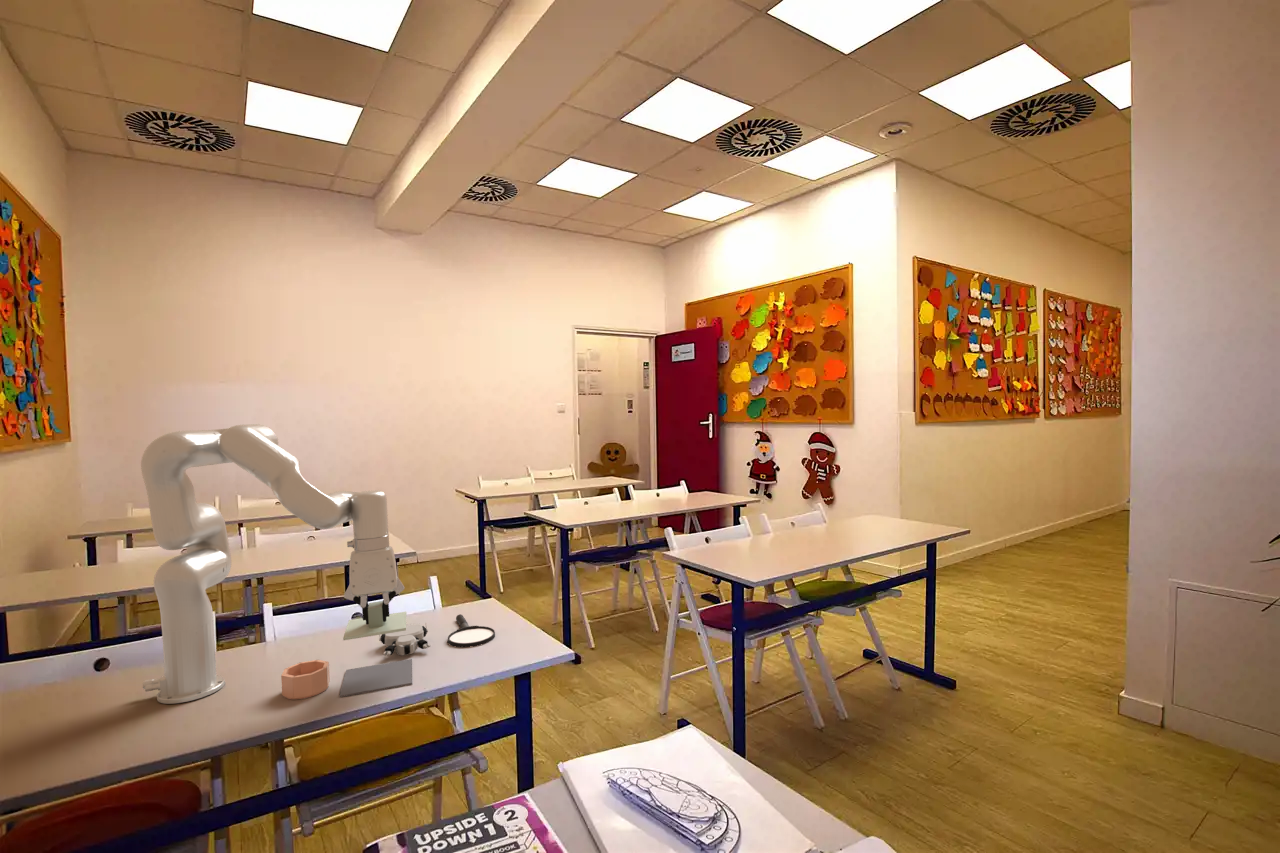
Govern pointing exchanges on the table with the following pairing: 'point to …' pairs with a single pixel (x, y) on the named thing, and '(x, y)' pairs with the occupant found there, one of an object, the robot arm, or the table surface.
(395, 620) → the cover
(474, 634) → the magnifying glass
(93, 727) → the table surface
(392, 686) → the mat
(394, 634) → the robot toy
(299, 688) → the bowl
